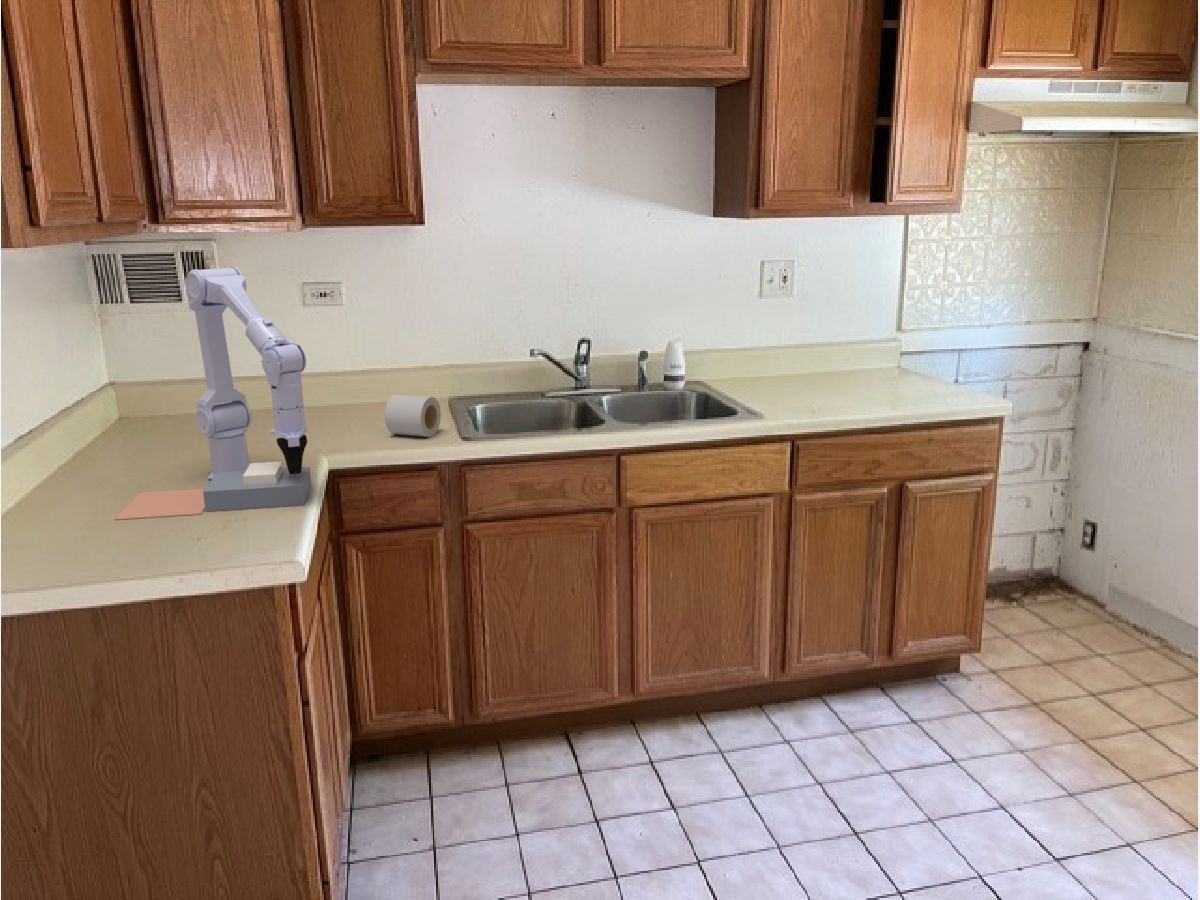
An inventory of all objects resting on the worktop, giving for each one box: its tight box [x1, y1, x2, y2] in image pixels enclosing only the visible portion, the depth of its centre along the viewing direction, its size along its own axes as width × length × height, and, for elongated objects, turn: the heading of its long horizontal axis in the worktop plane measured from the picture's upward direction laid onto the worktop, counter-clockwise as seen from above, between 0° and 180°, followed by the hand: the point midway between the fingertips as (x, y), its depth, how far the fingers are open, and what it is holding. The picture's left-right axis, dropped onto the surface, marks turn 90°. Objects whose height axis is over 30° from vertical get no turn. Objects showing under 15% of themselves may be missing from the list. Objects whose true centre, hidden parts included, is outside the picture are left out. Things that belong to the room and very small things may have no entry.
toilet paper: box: [384, 394, 442, 438], centre depth 225 cm, size 10×10×10 cm
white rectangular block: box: [243, 461, 284, 486], centre depth 177 cm, size 9×6×2 cm, turn 11°
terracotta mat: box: [114, 488, 205, 521], centre depth 175 cm, size 16×15×1 cm
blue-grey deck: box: [203, 466, 312, 513], centre depth 178 cm, size 13×18×4 cm
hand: (295, 473), depth 178 cm, fingers closed
